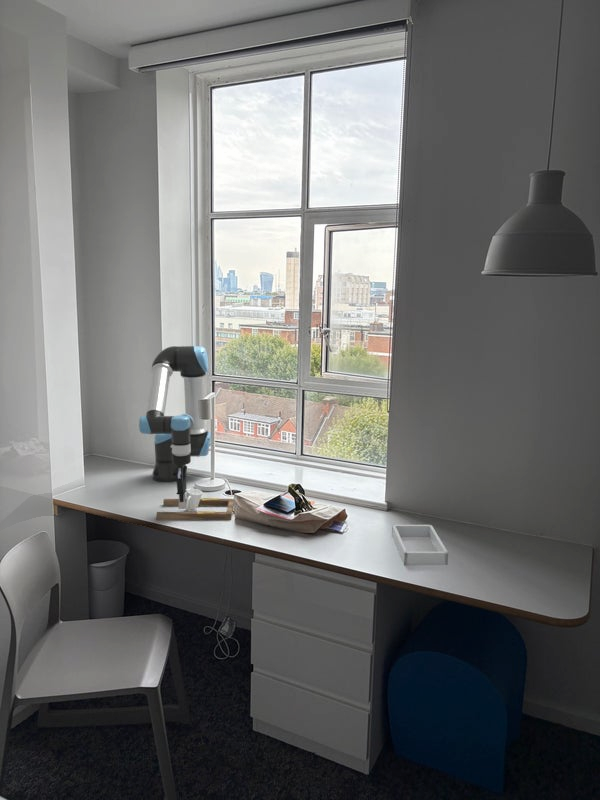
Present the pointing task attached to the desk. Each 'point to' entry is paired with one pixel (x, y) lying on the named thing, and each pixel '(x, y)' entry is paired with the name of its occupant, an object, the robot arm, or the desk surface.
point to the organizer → (419, 557)
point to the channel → (200, 514)
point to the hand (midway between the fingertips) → (182, 508)
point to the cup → (192, 499)
